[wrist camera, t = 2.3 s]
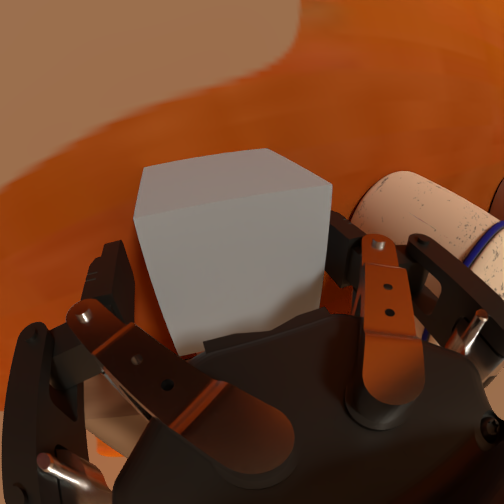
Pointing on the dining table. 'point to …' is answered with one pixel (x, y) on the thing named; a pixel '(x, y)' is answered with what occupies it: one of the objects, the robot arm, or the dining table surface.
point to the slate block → (232, 242)
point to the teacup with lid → (434, 227)
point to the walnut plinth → (111, 415)
